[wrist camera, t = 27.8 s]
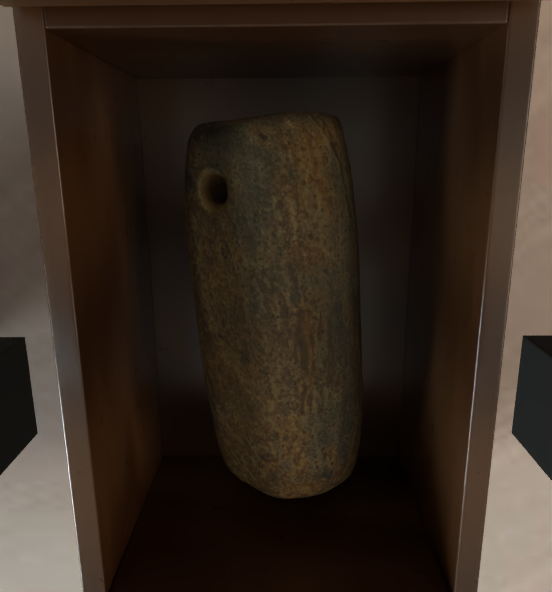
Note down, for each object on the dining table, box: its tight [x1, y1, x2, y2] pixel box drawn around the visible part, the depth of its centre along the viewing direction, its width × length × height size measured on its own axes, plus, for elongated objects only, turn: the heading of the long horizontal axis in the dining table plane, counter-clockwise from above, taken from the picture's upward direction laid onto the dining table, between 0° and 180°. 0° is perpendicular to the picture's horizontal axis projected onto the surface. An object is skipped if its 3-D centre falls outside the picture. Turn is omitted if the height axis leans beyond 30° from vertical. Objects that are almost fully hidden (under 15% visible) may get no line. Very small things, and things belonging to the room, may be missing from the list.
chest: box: [13, 0, 541, 592], centre depth 21 cm, size 20×14×10 cm
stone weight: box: [185, 112, 363, 499], centre depth 21 cm, size 15×7×7 cm, turn 9°
